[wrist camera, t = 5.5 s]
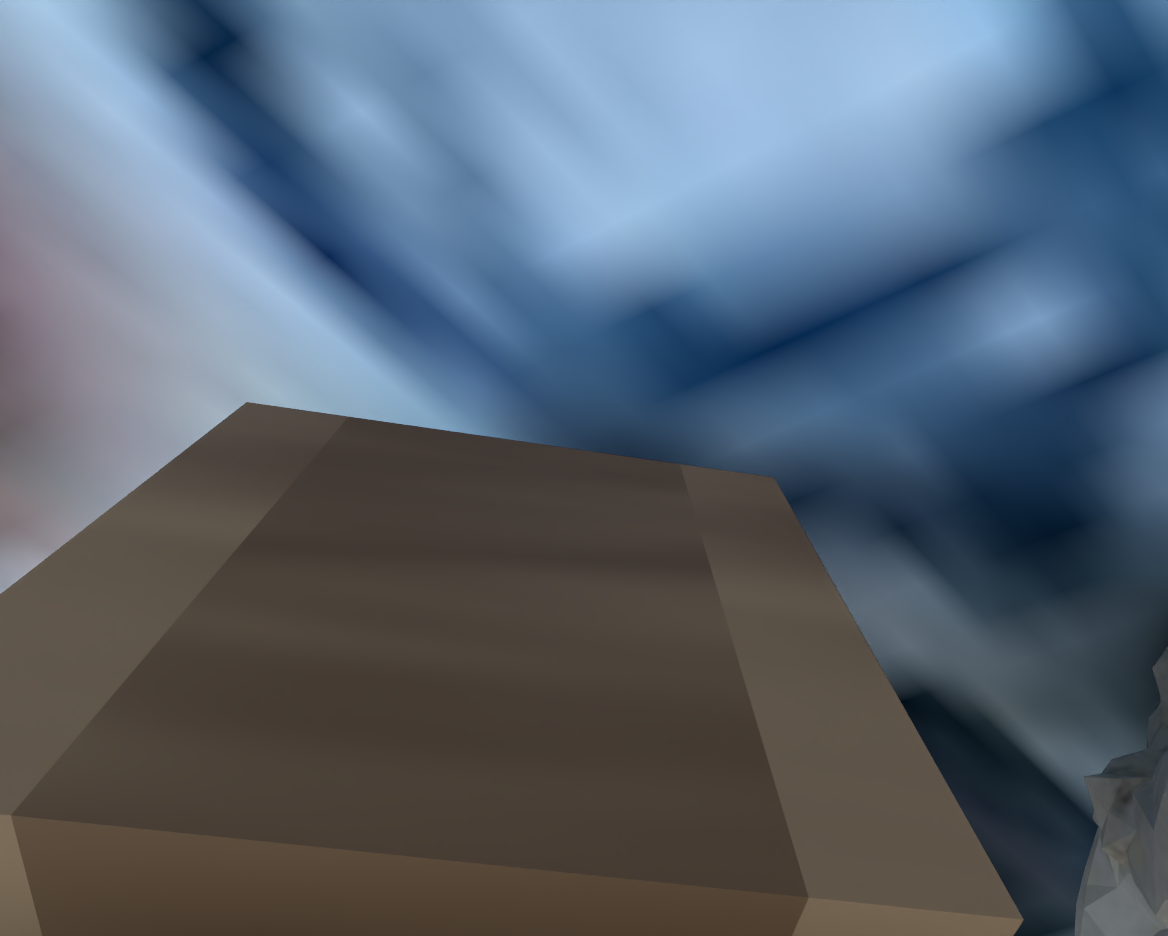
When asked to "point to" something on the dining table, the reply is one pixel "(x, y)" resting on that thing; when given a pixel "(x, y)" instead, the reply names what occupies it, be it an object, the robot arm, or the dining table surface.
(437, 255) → the dining table surface
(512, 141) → the dining table surface
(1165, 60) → the dining table surface
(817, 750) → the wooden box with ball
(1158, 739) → the rock
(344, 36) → the dining table surface
